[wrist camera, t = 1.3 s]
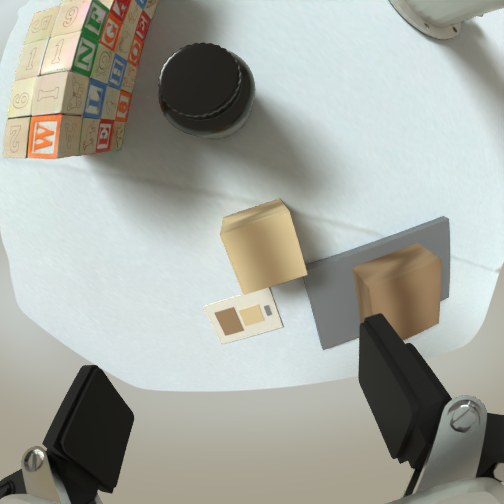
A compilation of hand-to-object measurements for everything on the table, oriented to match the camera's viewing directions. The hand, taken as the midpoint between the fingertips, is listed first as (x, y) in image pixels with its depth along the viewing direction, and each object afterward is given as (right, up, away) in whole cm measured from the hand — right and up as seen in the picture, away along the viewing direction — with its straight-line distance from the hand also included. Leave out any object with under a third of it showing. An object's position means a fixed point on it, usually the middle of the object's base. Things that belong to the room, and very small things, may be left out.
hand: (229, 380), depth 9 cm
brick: (+17, 0, +23) cm, 29 cm away
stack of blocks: (-14, +25, +13) cm, 31 cm away
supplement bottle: (-3, +18, +16) cm, 25 cm away
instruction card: (0, -3, +24) cm, 25 cm away
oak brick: (+2, +6, +21) cm, 22 cm away
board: (+17, 0, +24) cm, 29 cm away
